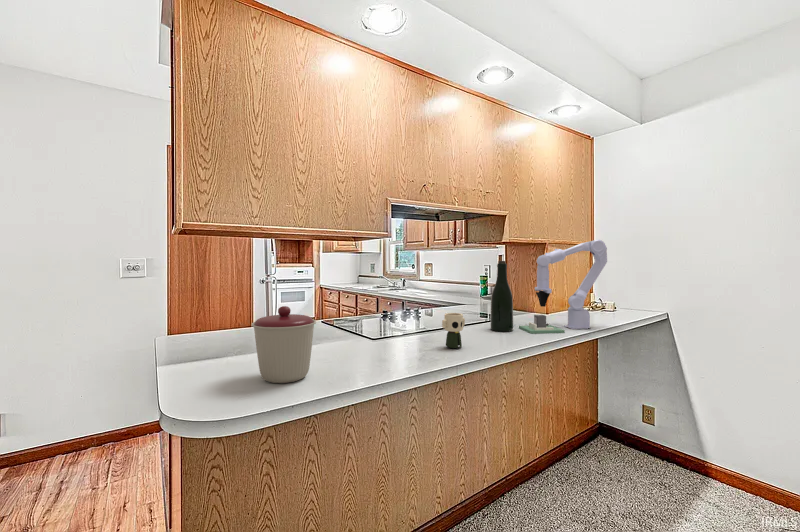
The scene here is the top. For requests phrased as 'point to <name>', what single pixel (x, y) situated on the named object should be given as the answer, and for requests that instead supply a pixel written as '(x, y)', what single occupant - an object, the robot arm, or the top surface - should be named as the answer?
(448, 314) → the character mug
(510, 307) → the wine bottle
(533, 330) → the board
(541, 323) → the plug
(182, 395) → the top surface
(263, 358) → the canister
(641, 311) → the top surface
